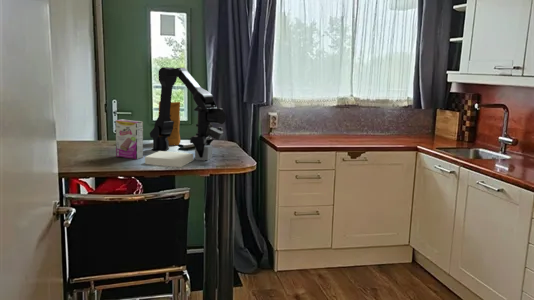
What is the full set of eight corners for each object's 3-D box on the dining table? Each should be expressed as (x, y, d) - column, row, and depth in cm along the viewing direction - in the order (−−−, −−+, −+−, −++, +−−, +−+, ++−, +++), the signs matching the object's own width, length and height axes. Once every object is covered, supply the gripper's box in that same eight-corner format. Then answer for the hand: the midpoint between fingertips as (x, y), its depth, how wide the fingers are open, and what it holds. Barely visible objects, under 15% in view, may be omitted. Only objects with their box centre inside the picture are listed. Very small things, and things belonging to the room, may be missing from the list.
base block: (145, 163, 196) (145, 156, 196) (159, 157, 210) (159, 150, 209) (180, 167, 193) (180, 160, 192) (193, 160, 206) (193, 153, 206)
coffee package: (158, 141, 247) (158, 100, 243) (181, 142, 247) (182, 101, 243) (154, 145, 237) (154, 101, 233) (179, 146, 238) (179, 102, 234)
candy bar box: (115, 157, 207) (114, 120, 204) (122, 155, 211) (121, 119, 208) (137, 159, 203) (136, 122, 200) (143, 157, 208) (143, 121, 205)
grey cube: (194, 159, 208) (195, 146, 207) (199, 157, 214) (199, 144, 213) (207, 160, 207) (208, 147, 206) (212, 158, 213) (212, 145, 212)
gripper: (214, 125, 197) (214, 161, 200) (227, 120, 215) (226, 153, 218) (189, 123, 199) (189, 159, 202) (204, 118, 217) (204, 151, 220)
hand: (203, 156), depth 210 cm, fingers closed on grey cube, 6 cm apart
